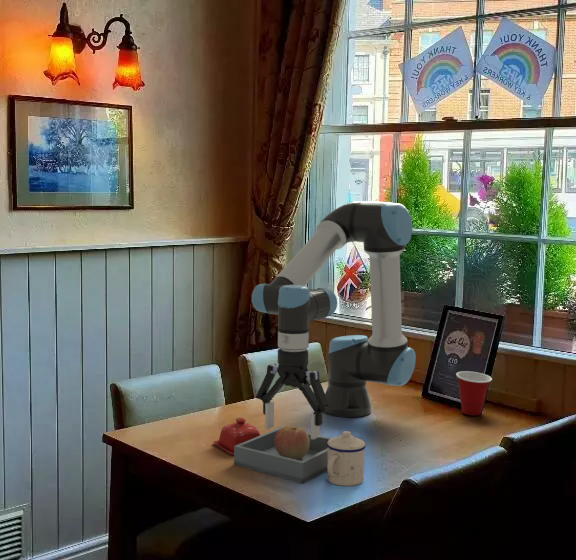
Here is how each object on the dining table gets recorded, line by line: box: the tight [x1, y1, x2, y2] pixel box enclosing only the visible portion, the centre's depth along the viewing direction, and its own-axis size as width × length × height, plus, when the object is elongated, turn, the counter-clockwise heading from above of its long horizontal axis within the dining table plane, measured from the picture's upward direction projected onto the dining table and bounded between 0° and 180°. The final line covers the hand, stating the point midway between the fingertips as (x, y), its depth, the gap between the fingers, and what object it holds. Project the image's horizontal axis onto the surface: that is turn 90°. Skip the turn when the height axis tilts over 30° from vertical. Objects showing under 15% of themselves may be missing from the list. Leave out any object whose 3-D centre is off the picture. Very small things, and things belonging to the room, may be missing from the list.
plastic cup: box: [455, 370, 493, 416], centre depth 251 cm, size 11×11×12 cm
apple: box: [274, 426, 310, 460], centre depth 202 cm, size 9×9×8 cm
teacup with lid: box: [326, 430, 367, 487], centre depth 190 cm, size 12×9×12 cm
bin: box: [233, 426, 332, 485], centre depth 203 cm, size 20×20×5 cm
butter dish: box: [212, 417, 261, 456], centre depth 213 cm, size 12×12×8 cm
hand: (291, 432), depth 202 cm, fingers open, 13 cm apart
